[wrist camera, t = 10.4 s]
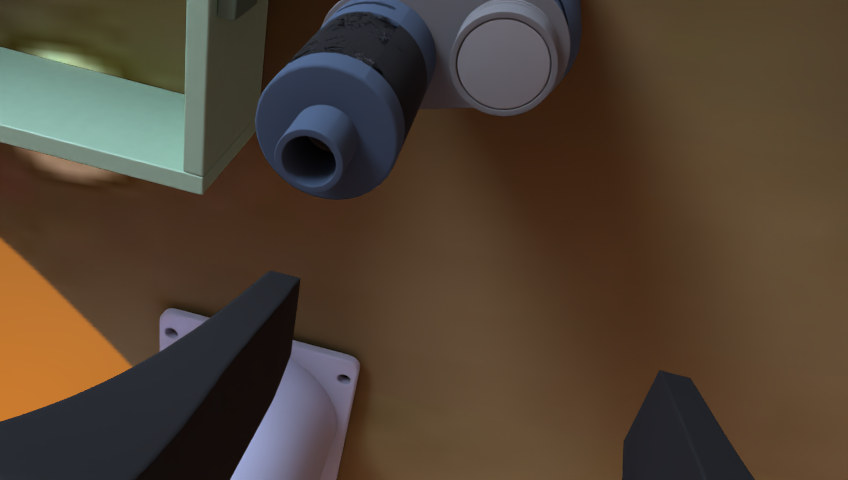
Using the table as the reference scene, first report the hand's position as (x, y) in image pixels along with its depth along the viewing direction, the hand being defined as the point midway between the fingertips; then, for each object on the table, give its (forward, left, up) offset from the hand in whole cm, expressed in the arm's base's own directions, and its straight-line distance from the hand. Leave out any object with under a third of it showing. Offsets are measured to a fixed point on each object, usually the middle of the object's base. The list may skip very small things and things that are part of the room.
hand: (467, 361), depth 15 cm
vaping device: (+5, +2, -11) cm, 12 cm away
